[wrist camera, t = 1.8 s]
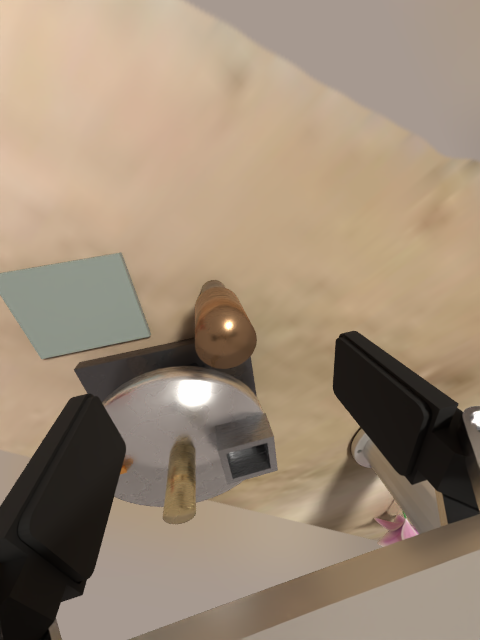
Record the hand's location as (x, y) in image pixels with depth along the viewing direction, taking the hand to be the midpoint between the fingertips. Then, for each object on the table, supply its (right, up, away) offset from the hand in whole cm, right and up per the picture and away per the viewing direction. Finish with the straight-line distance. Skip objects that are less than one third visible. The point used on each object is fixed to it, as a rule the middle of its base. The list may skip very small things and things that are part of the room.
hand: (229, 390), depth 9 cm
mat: (-14, +4, +11) cm, 18 cm away
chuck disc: (-5, -9, +14) cm, 18 cm away
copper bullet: (-2, +5, +13) cm, 14 cm away
